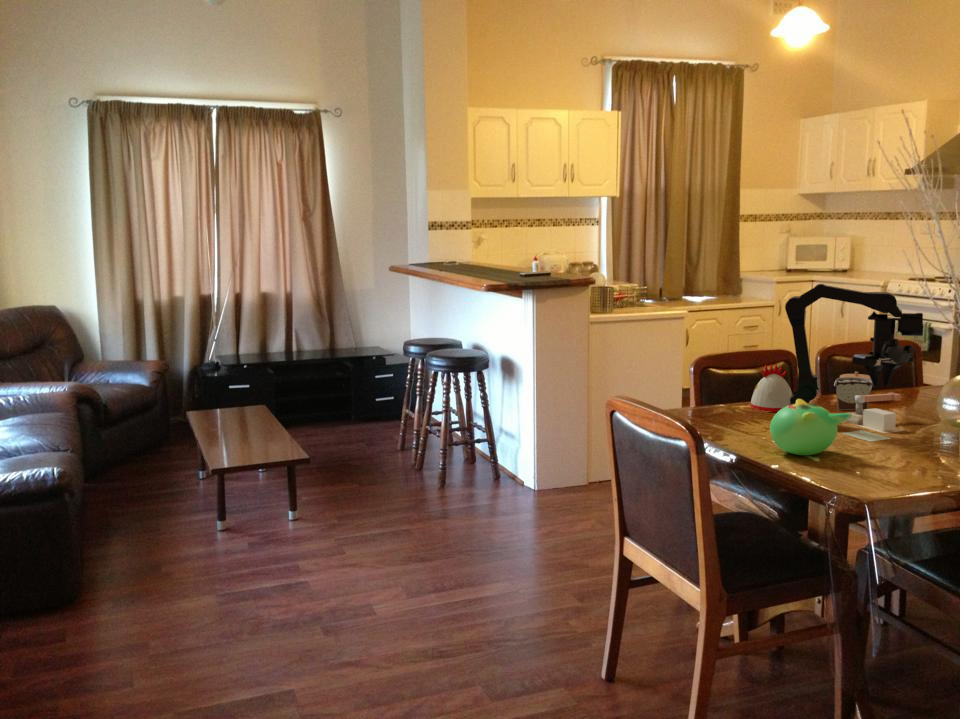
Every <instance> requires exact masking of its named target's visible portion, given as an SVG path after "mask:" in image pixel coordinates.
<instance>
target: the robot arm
mask: <svg viewBox="0 0 964 719" xmlns="http://www.w3.org/2000/svg"><path fill="white" fill-rule="evenodd" d="M821 298H824V299H829V300H834V301H840V302H846V303H850V304H857V305H860V306H861V305H862V306H864V307H867V308H869V309H871V310H874V311H872V313H871V314H870V315H868V316H867V320H869V321H874V323H873V337H870V339H869V341H870V342H873V343H872V350H870V351H869V354H867V353H857V354H856V353H855V354H854V355H852V358H851V364H852V365H858V366H863V367H864V368H865V370H866V372H867V373H868V374H867V375H869V376H870V378H871V380H872V382H873V387H874V388H878V387H879V384H880V375H881V372H882V381H883V386H884V387H888V386H889V385H890V382H891V380H892V378H893V376H894V374H895V372H896V370H897V369H898V368H900V367H901V366H903V365H904V364H903V363H906V364H907V363H913V362H914V354H915V347H914V346H913V345H912V344H908V345H905V346H904V345H900V344H899V340H898V338H895V336H896V333H900V334H901V336H906V337H907V336H909V337H923V336H924V319H923V318H924V314H923V312H916V313H914V312H913V313H912V312H911V313H907V312H906V313H905V312H902V309H900V308H899V307H898V305H897V304H898V302H897V298H896V297H895V295H894V294H893V293H892V292H888V291H868V292H867V291H860V290H856V289H855V290H854V289H849V288H843V287H839V286H831V285H828V284H824V283H818V284H816V285H815V286H814V287H813V288H811V289H810V290H807V291H806V292H804V293H803V294H801V295H794V296H791V297H790V298H789V299H788V300H787V301H786V303H785V305H784V308H785V309H784V310H785V312H786V315H787V319H788V321H789V324H790V327H791V330H792V335H793V344H794V348H795V349H794V350H795V357H796V362H797V371H798V373H797V389H796V390H794V392H792V395H791V398H790V403H789V405H792V404H795V403H796V400H797V399H802V400H804V401H805V402H806V403H809V404H812V403H811V401H813V400H814V399H816V397H817V395H818V391H820V387H821V385H820V383H819V374H818V373H817V374H814V372H813V370H812V367H811V358H810V352H809V350H810V349H809V345H808V344H809V343H808V338H807V331H806V317H807V316H806V314H807V308H808V307H809V306H810V305H813V304H814V303H815V302H817V301H818V300H820V299H821ZM876 311H877V312H880V313H877V312H876ZM888 314H889V315H892V316H893V317H891V316H890V317H889V316H888ZM896 321H897V328H896ZM896 329H897V332H896Z"/></svg>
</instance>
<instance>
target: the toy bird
mask: <svg viewBox="0 0 964 719" xmlns="http://www.w3.org/2000/svg"><path fill="white" fill-rule="evenodd" d="M809 403H810V402H809ZM809 403H806V402H805V401H804V400H802V399H797V400H796V403H795V404H792V405H788V406H786V407H784V408H782V409H781V410H779V411H778V412H777V413H774V415H773V417H772V419H771V421H770V423H769V424H770V425H769V432H770V437H771V439H772V441H773V443H774V444H775V445H776V446H777V447H778V448H779V449H780V450H782V451H784V452H786V453H789V454H791V455H792V454H793V455H796V456H812V455H817V454H819V453H822V452H824V451H825V450H827V449H828V448H829V447H830V446H831V445H832V444H833V443H834V442H835V440H836V438H837V436H838V425H839V424H841V423H843V422H845V420H847V419H849V418H850V417H851V416H852V414H851V412H841V413H839V412H838V413H831V411H829V410H827V409H826V408H824V407H823V406H820V405H817V404H814V403H811V404H809Z"/></svg>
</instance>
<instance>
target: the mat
mask: <svg viewBox="0 0 964 719" xmlns="http://www.w3.org/2000/svg"><path fill="white" fill-rule="evenodd" d="M841 434H843V435H847V436H849V437H853V438H856V439H860V440H862V441H867V442H870V443H871V442H878V441H886V440H892V438H891V437H887V436H884V435H881V434H877V433H873V432H870V431H866V430H863V429H862V430H861V429H860V430H854V431H846V432H841Z"/></svg>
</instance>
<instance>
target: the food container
mask: <svg viewBox="0 0 964 719" xmlns="http://www.w3.org/2000/svg"><path fill="white" fill-rule="evenodd" d="M833 386H834V387H835V391H836V392H835V393H836V409H837V410H838V411H856V402H855V396H856V395H871V391H872V388H871V386H872V387H874V385H873V382H872V380H870V379H865V378H856V377H843V378H840V377H838V378H836V379H835V381H834V384H833ZM870 390H871V391H870ZM868 406H869V402H864V403H863V411H864V409H869V408H868Z"/></svg>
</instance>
